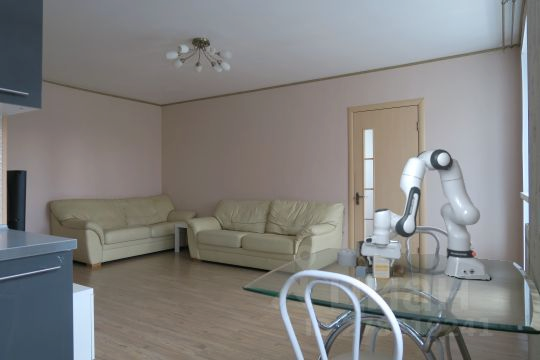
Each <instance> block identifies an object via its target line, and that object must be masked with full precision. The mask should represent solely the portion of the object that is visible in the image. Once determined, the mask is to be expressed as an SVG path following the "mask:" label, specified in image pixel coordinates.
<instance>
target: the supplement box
mask: <svg viewBox="0 0 540 360" xmlns="http://www.w3.org/2000/svg"><path fill="white" fill-rule="evenodd" d="M389 263H390V258H383V257H381V256H380V255H377V254H373V256H372V272H371V273H372V278H373V279H374V278H376V280H377V279H378V280H379V279H380V280H390V267H389Z"/></svg>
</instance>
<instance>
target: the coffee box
mask: <svg viewBox="0 0 540 360" xmlns="http://www.w3.org/2000/svg"><path fill="white" fill-rule="evenodd" d="M355 243H356V245H355V246H356V247H355V248H356V249H355V250H356V266H355V268H356V267H357V266H363V267H367V273H372V265H370V264H369V260H368V258H367V256H363V255H362V254H361V249H362V245H363V243H364V240H359V241H356V242H355ZM370 260H371V261H372V256H370Z"/></svg>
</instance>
